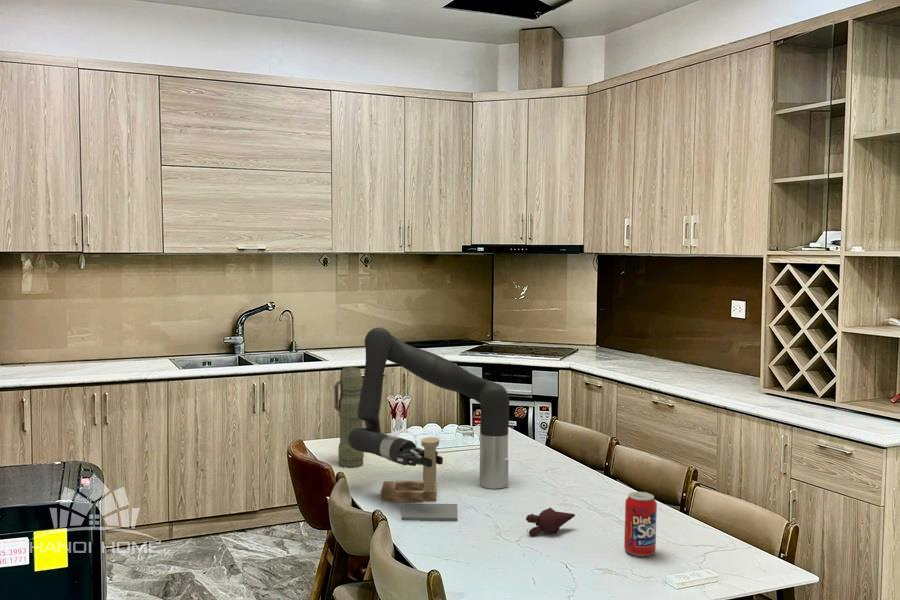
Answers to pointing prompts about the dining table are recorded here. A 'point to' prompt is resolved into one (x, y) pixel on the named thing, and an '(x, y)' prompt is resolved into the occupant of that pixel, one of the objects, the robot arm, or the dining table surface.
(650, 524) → the soda can
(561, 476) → the dining table surface
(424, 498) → the collar
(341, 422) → the thermos
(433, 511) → the mat
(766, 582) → the dining table surface
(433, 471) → the handle
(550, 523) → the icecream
